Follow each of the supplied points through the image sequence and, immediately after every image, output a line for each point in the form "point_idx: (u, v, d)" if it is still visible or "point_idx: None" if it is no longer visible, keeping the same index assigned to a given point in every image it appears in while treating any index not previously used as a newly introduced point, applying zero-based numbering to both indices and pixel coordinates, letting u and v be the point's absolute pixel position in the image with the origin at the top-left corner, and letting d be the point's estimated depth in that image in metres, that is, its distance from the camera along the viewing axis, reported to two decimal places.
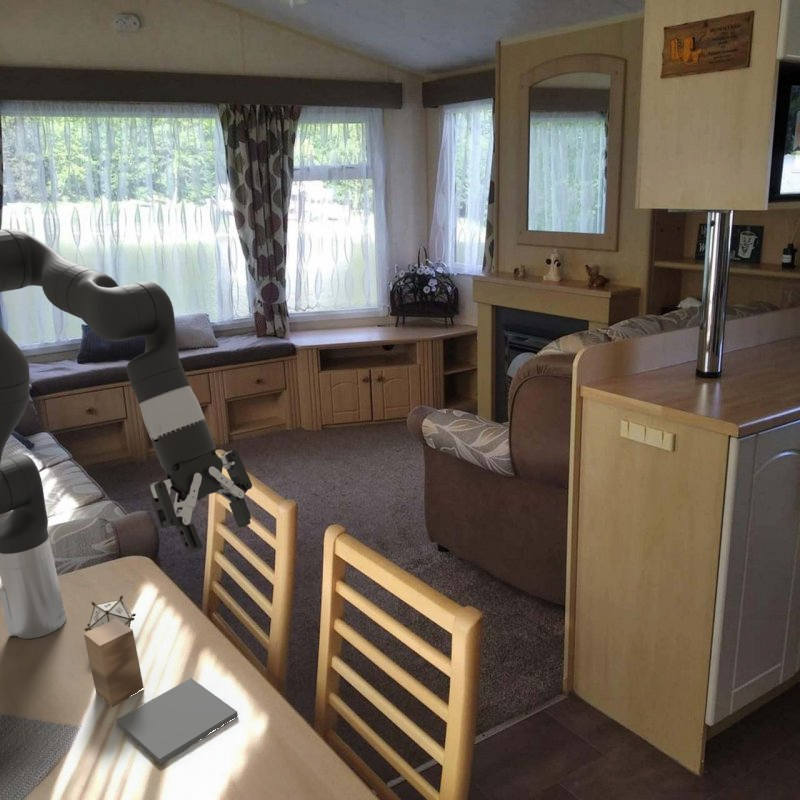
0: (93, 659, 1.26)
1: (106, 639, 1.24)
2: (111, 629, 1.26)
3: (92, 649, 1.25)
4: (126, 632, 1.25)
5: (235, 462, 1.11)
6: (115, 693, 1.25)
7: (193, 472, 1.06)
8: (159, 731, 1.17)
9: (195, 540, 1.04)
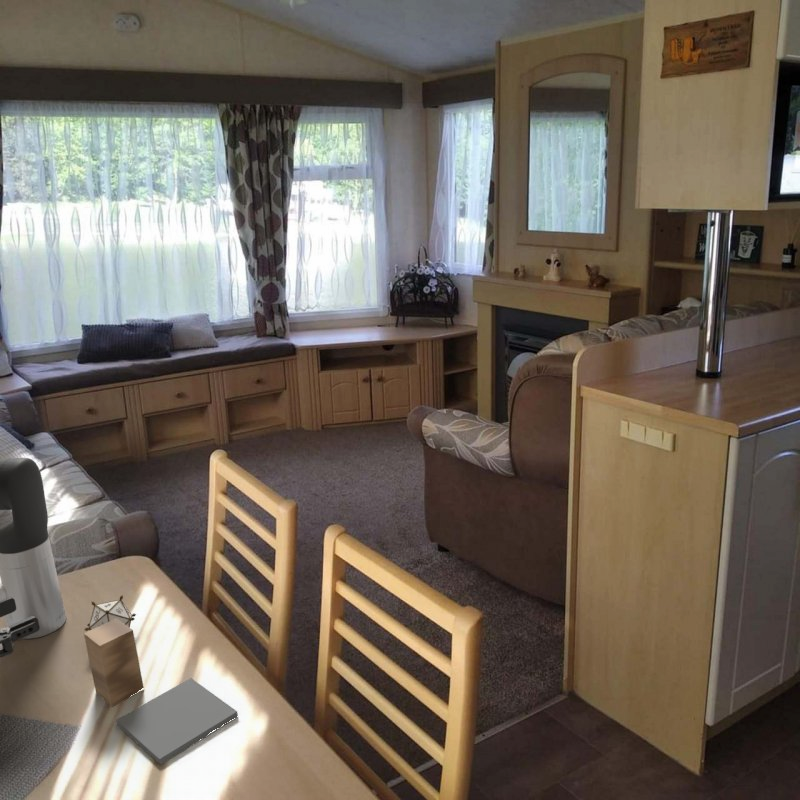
0: (93, 659, 1.26)
1: (106, 639, 1.24)
2: (111, 629, 1.26)
3: (92, 649, 1.25)
4: (126, 632, 1.25)
5: None
6: (115, 693, 1.25)
7: None
8: (159, 731, 1.17)
9: None
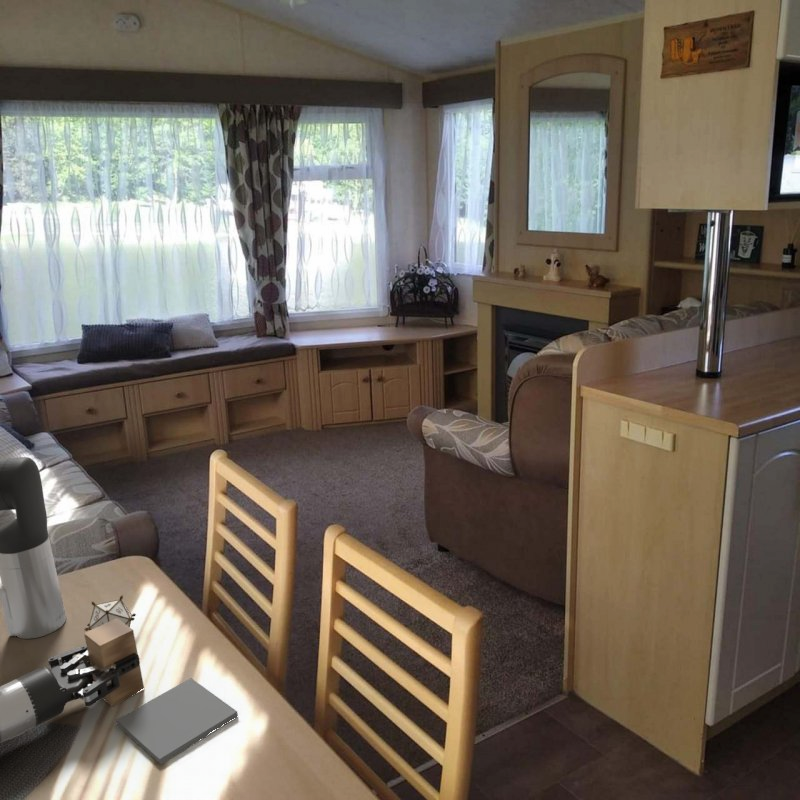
0: (93, 659, 1.26)
1: (107, 639, 1.24)
2: (112, 629, 1.26)
3: (92, 649, 1.25)
4: (126, 632, 1.25)
5: None
6: (115, 693, 1.25)
7: None
8: (159, 731, 1.17)
9: None
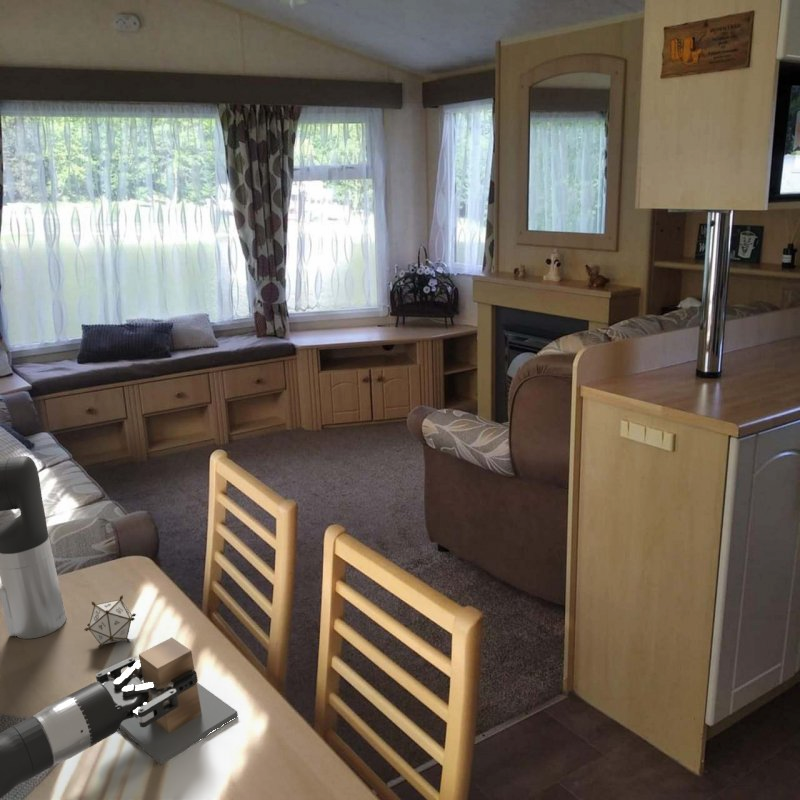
0: (148, 682, 1.17)
1: (164, 661, 1.15)
2: (168, 650, 1.18)
3: (148, 671, 1.16)
4: (184, 653, 1.17)
5: None
6: (172, 718, 1.17)
7: None
8: (159, 731, 1.17)
9: None
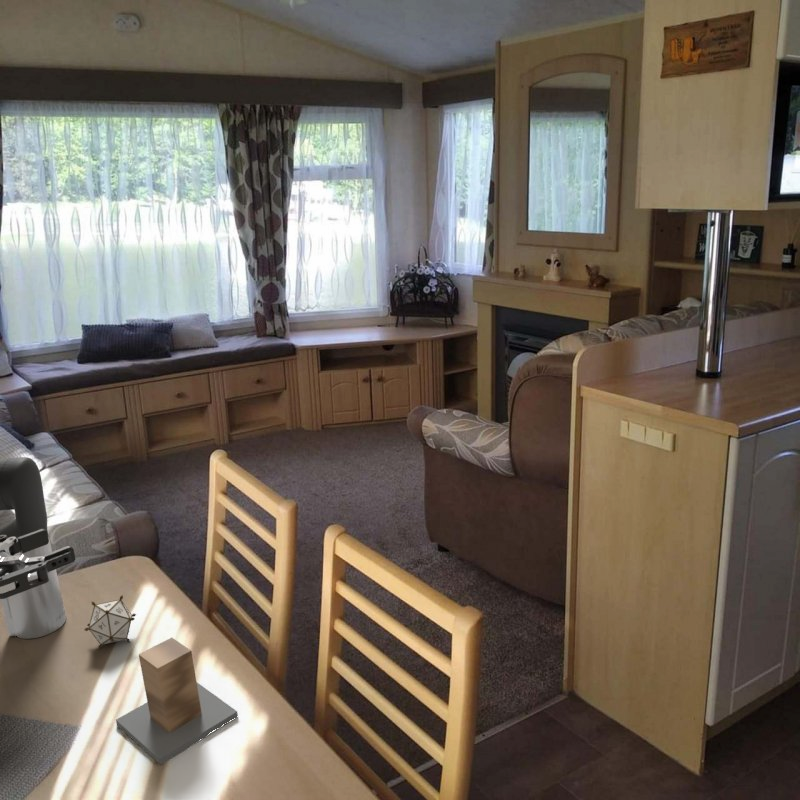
0: (148, 682, 1.17)
1: (164, 661, 1.15)
2: (168, 650, 1.18)
3: (148, 671, 1.16)
4: (184, 653, 1.17)
5: None
6: (172, 718, 1.17)
7: None
8: (159, 731, 1.17)
9: None
